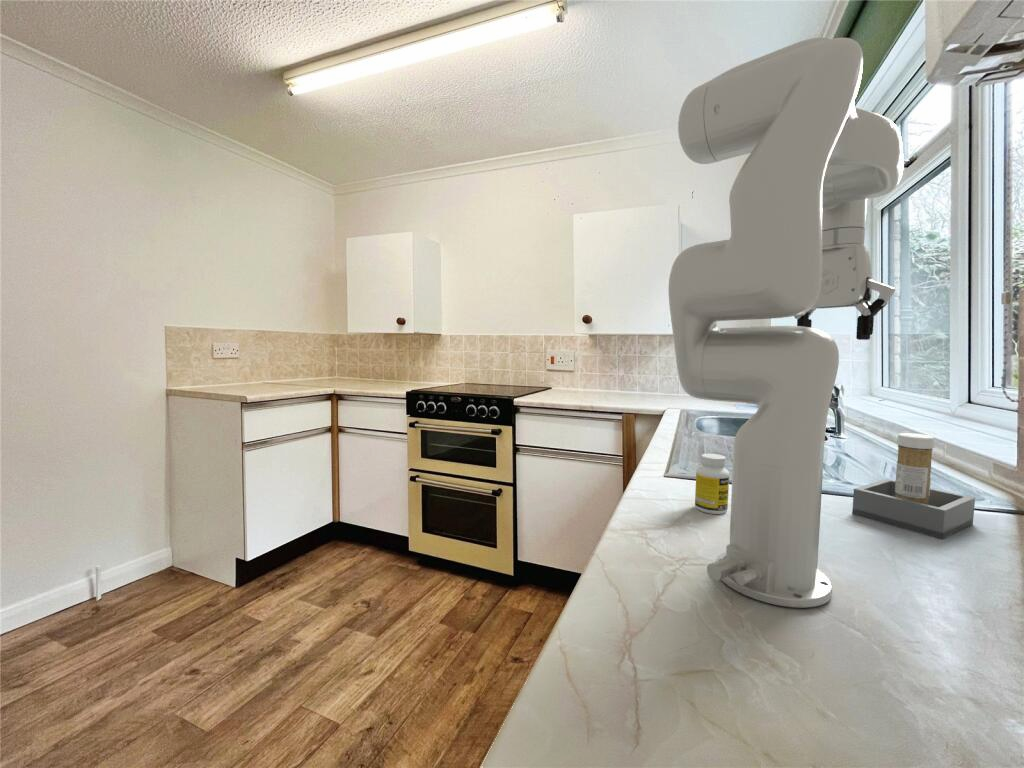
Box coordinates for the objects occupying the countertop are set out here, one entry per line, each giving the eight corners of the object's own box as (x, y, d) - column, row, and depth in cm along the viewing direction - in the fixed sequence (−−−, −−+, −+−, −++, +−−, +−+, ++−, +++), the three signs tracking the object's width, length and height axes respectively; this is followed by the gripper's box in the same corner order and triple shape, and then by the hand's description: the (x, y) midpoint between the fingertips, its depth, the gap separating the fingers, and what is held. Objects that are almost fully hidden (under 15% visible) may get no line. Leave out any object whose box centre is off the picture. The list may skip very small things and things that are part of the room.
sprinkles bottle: (932, 514, 76) (938, 435, 75) (922, 520, 74) (928, 438, 72) (898, 506, 80) (903, 431, 79) (887, 511, 77) (893, 434, 76)
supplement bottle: (721, 517, 78) (724, 461, 77) (690, 509, 81) (691, 456, 80) (731, 509, 82) (734, 455, 81) (701, 502, 85) (703, 450, 84)
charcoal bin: (942, 539, 69) (944, 510, 68) (852, 513, 79) (853, 488, 79) (972, 524, 74) (975, 497, 74) (885, 502, 85) (886, 478, 85)
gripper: (776, 250, 86) (772, 340, 88) (886, 229, 71) (879, 339, 73) (799, 253, 90) (794, 340, 91) (907, 235, 75) (900, 339, 76)
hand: (832, 339), depth 82 cm, fingers open, 9 cm apart
